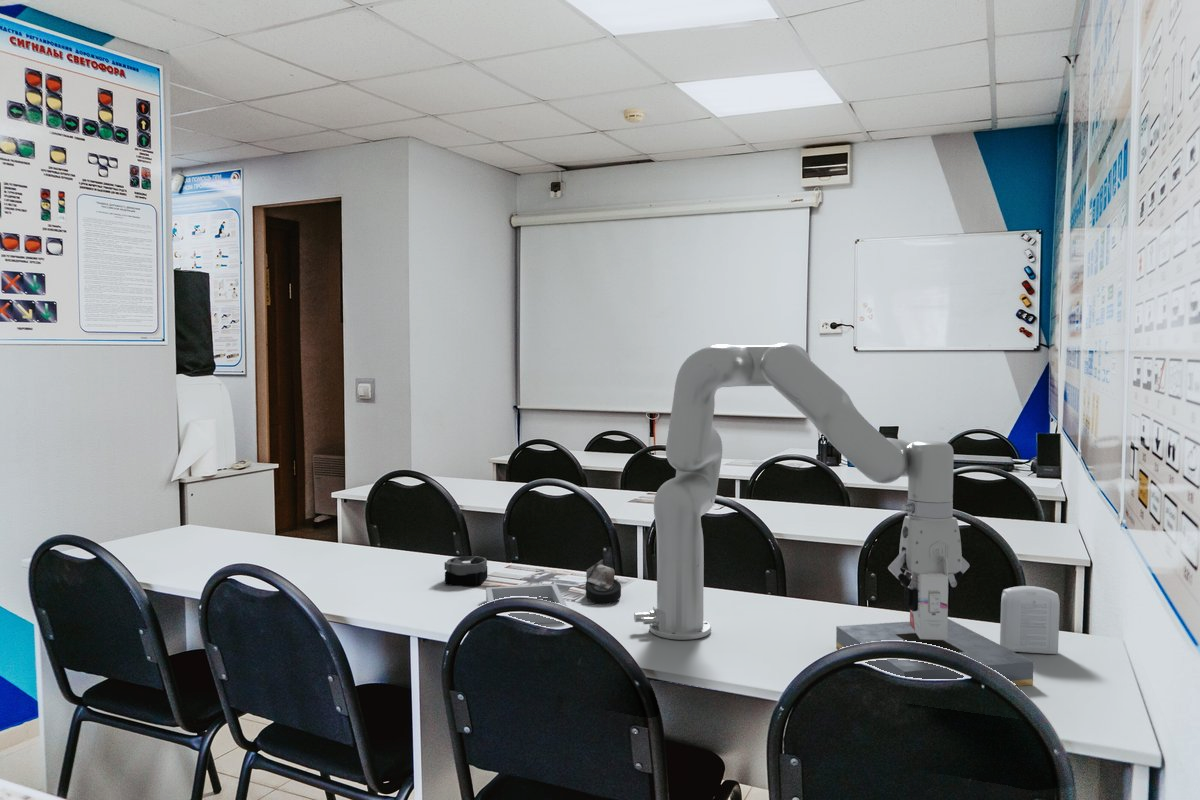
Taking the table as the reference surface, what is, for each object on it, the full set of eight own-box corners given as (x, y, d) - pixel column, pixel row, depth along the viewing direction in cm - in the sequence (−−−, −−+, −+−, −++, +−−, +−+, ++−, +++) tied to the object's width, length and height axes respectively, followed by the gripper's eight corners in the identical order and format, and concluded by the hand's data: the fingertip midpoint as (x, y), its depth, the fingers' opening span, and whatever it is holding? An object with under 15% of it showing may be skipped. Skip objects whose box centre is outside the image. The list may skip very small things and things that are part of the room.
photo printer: (1053, 648, 158) (1054, 584, 158) (1062, 656, 154) (1063, 590, 153) (996, 645, 160) (997, 582, 159) (1003, 653, 155) (1005, 588, 155)
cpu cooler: (490, 555, 213) (481, 564, 203) (491, 577, 213) (482, 587, 203) (451, 554, 214) (440, 564, 203) (452, 576, 214) (441, 587, 204)
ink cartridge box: (908, 624, 154) (909, 546, 153) (935, 625, 153) (937, 547, 153) (919, 639, 146) (920, 557, 145) (948, 641, 145) (950, 558, 144)
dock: (903, 695, 136) (904, 671, 135) (836, 646, 159) (836, 626, 159) (1032, 684, 140) (1033, 661, 140) (948, 638, 164) (948, 618, 163)
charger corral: (490, 626, 172) (490, 612, 172) (486, 600, 191) (486, 587, 191) (568, 621, 175) (567, 607, 175) (556, 596, 194) (556, 584, 194)
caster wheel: (607, 616, 187) (572, 602, 193) (635, 595, 196) (601, 582, 202) (607, 590, 185) (572, 577, 191) (635, 570, 194) (601, 558, 200)
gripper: (897, 515, 143) (895, 617, 144) (986, 511, 146) (984, 611, 147) (875, 507, 150) (873, 604, 151) (960, 504, 154) (958, 599, 154)
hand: (928, 607), depth 149 cm, fingers closed on ink cartridge box, 6 cm apart
